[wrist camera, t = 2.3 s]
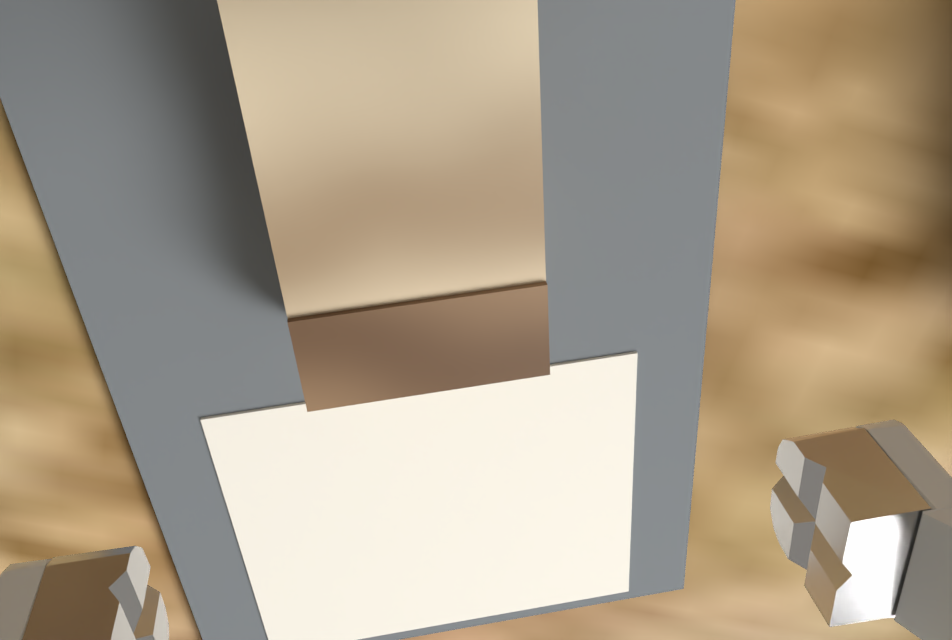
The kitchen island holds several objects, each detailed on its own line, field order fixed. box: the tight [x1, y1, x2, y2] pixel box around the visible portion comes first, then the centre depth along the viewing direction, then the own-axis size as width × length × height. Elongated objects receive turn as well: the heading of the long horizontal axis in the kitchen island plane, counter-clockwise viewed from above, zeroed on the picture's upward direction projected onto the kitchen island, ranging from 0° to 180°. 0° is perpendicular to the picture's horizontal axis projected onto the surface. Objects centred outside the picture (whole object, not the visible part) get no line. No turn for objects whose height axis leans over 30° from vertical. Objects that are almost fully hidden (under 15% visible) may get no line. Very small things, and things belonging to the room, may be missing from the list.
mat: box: [0, 0, 735, 640], centre depth 24 cm, size 23×16×1 cm
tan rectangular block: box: [217, 0, 550, 412], centre depth 19 cm, size 9×6×4 cm, turn 4°
